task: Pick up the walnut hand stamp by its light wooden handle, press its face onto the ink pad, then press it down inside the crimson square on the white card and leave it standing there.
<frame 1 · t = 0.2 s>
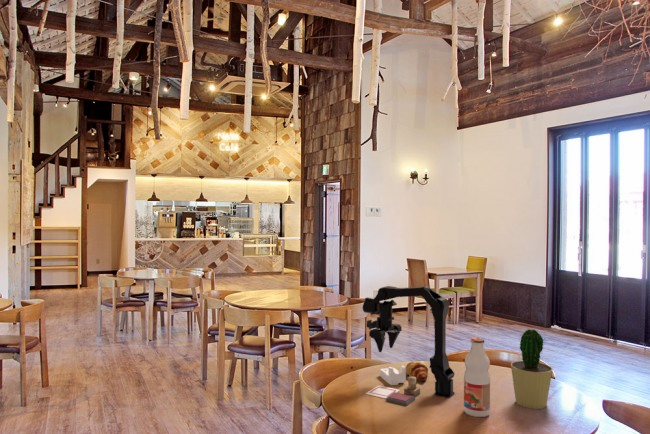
hand: (385, 349, 223), 14 cm above the table, tool pointing down, fingers open, 9 cm apart
stamp: (412, 394, 208), on the table
paper card: (382, 392, 210), on the table
croissant: (417, 376, 232), on the table
potted cactus: (531, 403, 199), on the table
bracket: (392, 380, 226), on the table
ink pad: (400, 400, 201), on the table
fruit juice: (476, 413, 189), on the table
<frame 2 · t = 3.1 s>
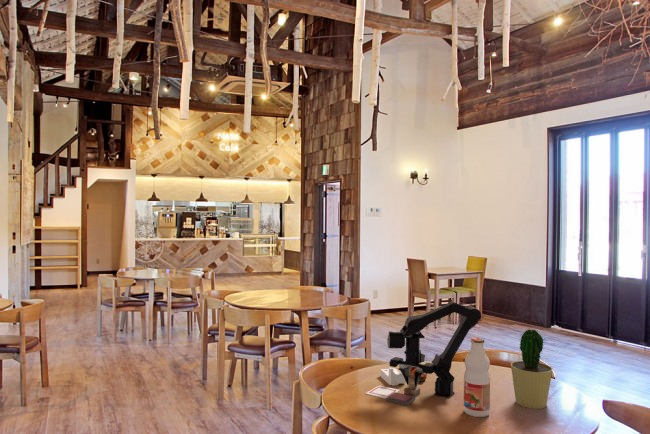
hand: (412, 385, 208), 4 cm above the table, tool pointing down, fingers closed on stamp, 3 cm apart
stamp: (412, 394, 208), on the table, touching gripper
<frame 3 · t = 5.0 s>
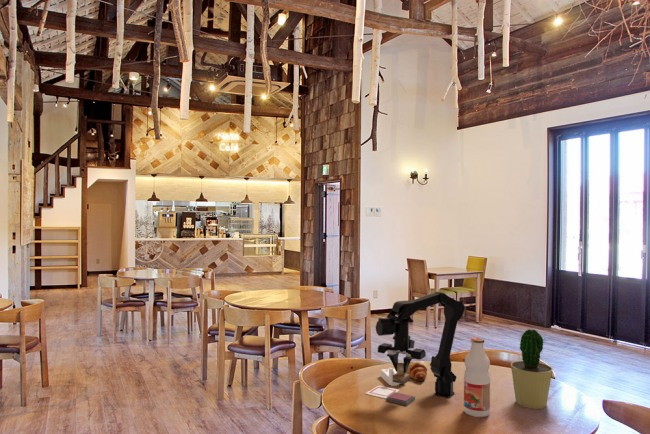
hand: (401, 372, 201), 11 cm above the table, tool pointing down, fingers closed on stamp, 3 cm apart
stamp: (401, 381, 201), point 8 cm above the table, touching gripper
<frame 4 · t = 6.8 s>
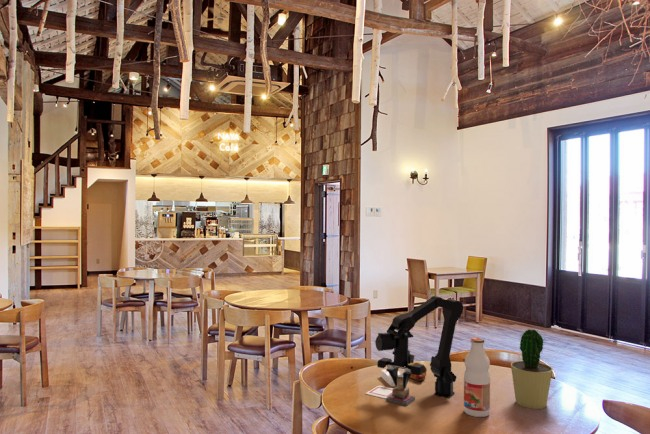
hand: (400, 387, 201), 5 cm above the table, tool pointing down, fingers closed on stamp, 3 cm apart
stamp: (400, 395, 201), point 2 cm above the table, touching gripper
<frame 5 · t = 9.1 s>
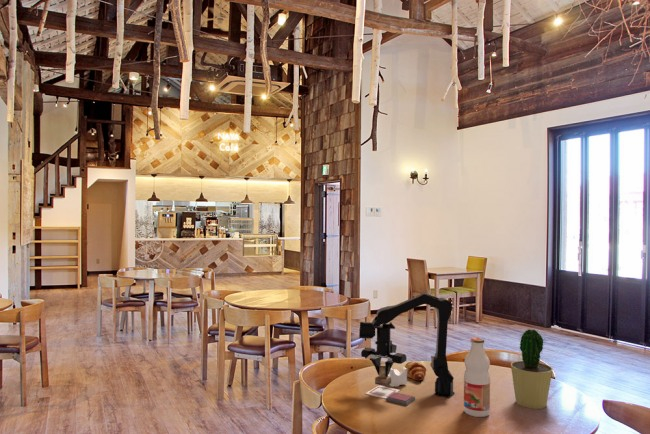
hand: (383, 375, 210), 7 cm above the table, tool pointing down, fingers closed on stamp, 3 cm apart
stamp: (383, 383, 210), point 4 cm above the table, touching gripper
when the fingers open (4 cm above the table, at t = 10.8 s): stamp stays where it is, resting on paper card.
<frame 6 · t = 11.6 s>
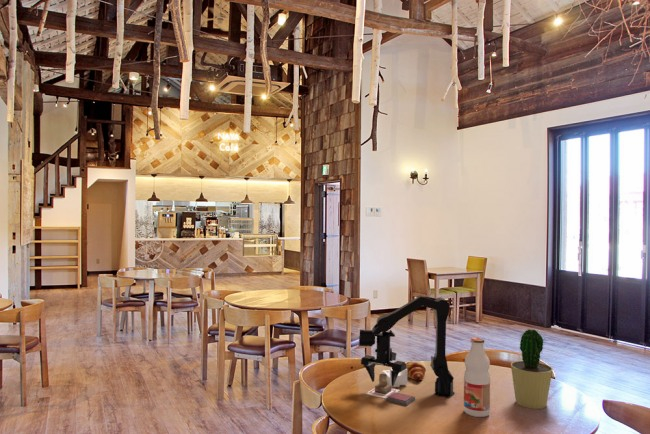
hand: (383, 383, 210), 4 cm above the table, tool pointing down, fingers open, 9 cm apart
stamp: (382, 391, 210), resting on paper card
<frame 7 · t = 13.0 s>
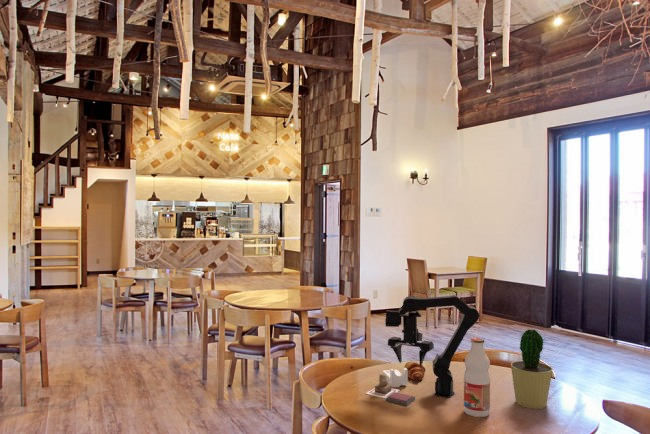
hand: (410, 364, 211), 12 cm above the table, tool pointing down, fingers open, 9 cm apart
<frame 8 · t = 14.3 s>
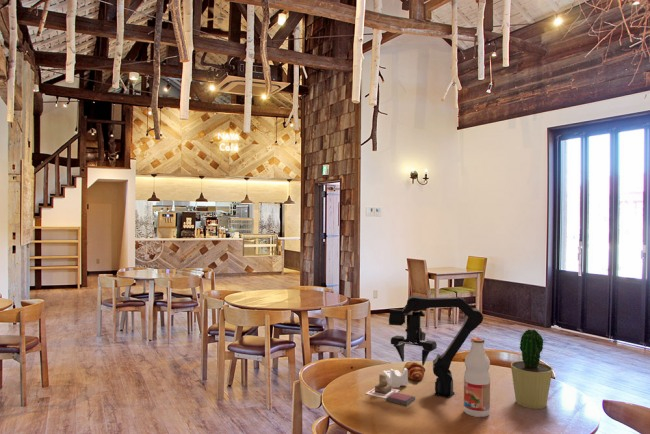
hand: (413, 363, 211), 12 cm above the table, tool pointing down, fingers open, 9 cm apart
at the end: stamp 0.0 cm off-centre on the paper card, point 0.3 cm above the paper card's base; stamp tilted 0°; the gripper is holding nothing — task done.
